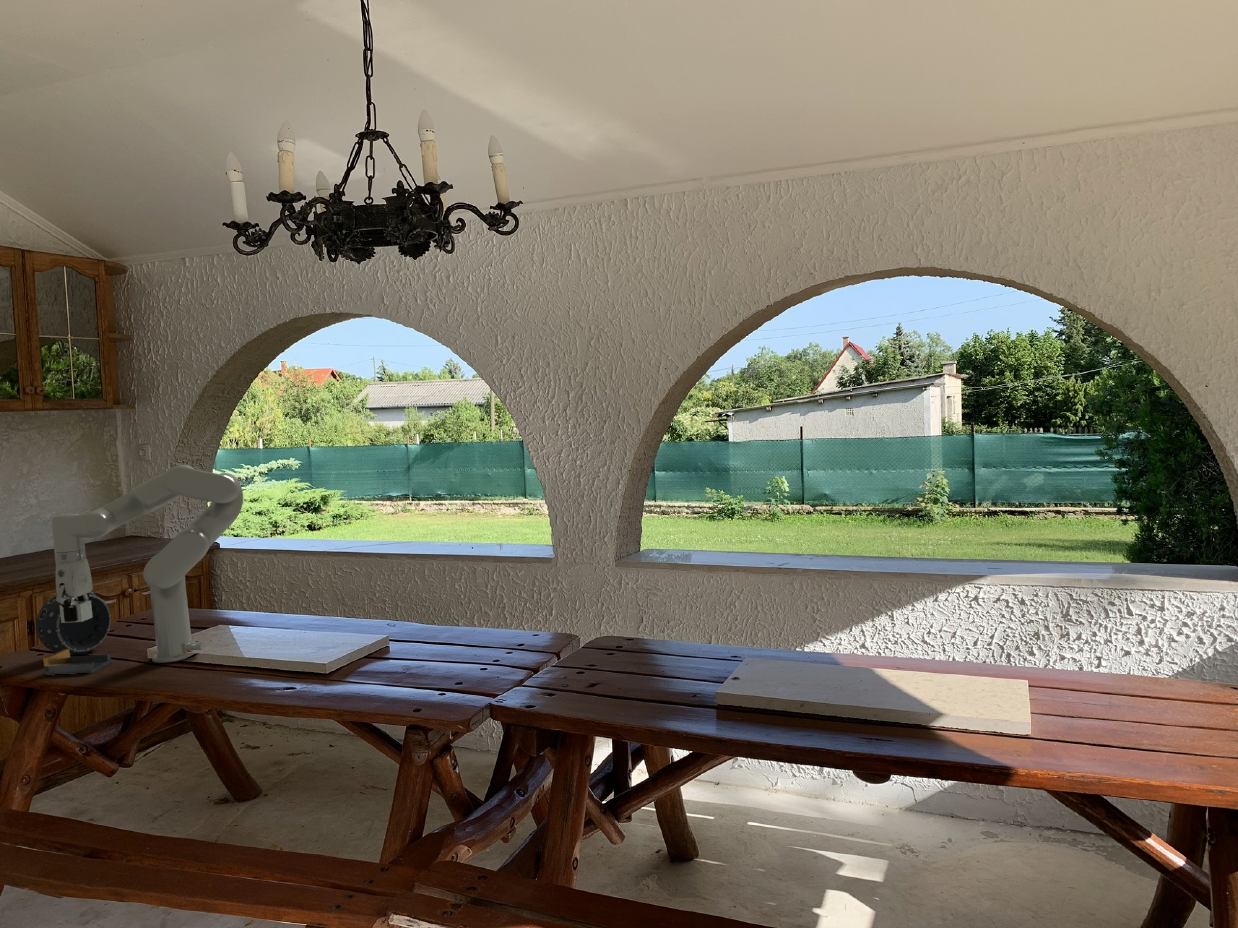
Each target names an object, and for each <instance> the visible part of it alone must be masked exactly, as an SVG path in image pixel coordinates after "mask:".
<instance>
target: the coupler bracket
mask: <svg viewBox="0 0 1238 928" xmlns="http://www.w3.org/2000/svg"><path fill="white" fill-rule="evenodd" d="M111 657H112V656H111V654H94V655H92V654H91V655H73V656H71V655H70V652H69V649H64V650H61V651H59V652H57V653H56V652H53V653H52V654H50V655H48V656H45V657H43V658H42V661H43V667H44V674H47V675H48V674H65V673H66V674H69V673H74V674H73V675H77V674H76V673H88V674H93V673H95V672H97V671H99V670H101V669H103V668H106V667H107V665H108V666H109V665H111V664H112V658H111Z"/></svg>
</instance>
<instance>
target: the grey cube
mask: <svg viewBox="0 0 1238 928" xmlns="http://www.w3.org/2000/svg"><path fill="white" fill-rule="evenodd" d="M73 607H75V609H76V619H77V620H76V621H75V622H83V621H85V620H88V619H90V618H92V607H91V601H74V606H73ZM60 615H61V623H67V622H65V621H64V612H63V609H62V606H61V605H60Z"/></svg>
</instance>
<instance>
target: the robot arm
mask: <svg viewBox="0 0 1238 928" xmlns="http://www.w3.org/2000/svg"><path fill="white" fill-rule="evenodd" d="M181 497H185V498H189V499H190V498H191V499H195V500H198V501H199V500H200V501H206V502H209V503H210V504H209V505H208V507H206V508H205V510H204V511H202V512H201V513H200V515H198V516H197V518H195V519H194V520H193V521H192V522H191V523H189V525H187V526H186V527H185V528H184V529H182V530H181V531H179V532H178V534H177V535H175V537H174V538H173V539H171V541H169V542H168V543H167V545H165V546H164V547H163V548H162V549H161V550H160V551H159V552H158V553H156V554H155V555H153V556H152V557H151V559H150V560H148V562H147V563H146V565H145V566H144V569H143V572H142V573H143V574H142V575H143V580H144V582H145V583H146V585H147V586H148V587H149V592H150V593H149V594H150V603H151V604H150V605H151V611H152V619H153V620H152V621H153V626H154V636H155V644H156V653H155V654H154V655H152V656H151V660H152V662H153V663H157V664H158V663H161V664H162V663H174V662H178V661H179V662H180V661H183V660H186V656H184V655H183V656H182V653H183V654H186V653H187V652H192V651H193V650H199V651H203V650H204V647H205V643H204V642H196V638H194V637H193V638H192V632H191V623H190V613H189V606H188V597H187V596H188V595H187V588H186V587H187V585H186V584H187V583H186V574H187V573H188V572H190V570H192V569H193V568H194V567H195V566H196V565H197V564H198V563H199V562H200V561H201V560H202V559H203V558H204V557H205V556H206V555H207V553H208V551H209V549H210V547H211V546H212V545H213V544H214V543H215V542H216V541H217V540H218V539H219V538H220V537H221V536H222V535H223V533H224V532H226V530H228V529H229V528H230V526H231V525H232V524H233V523H234V522H235V521H236V520H237V518H238V517H239V515H240V514H241V511H242V507H243V504H244V492H243V488H242V486H241V482H240V481H239V479H238V478H237V477H236V476H235V475H234V474H232V473H229V472H228V473H227V472H221V473H216V472H210V471H205V470H200V469H195V468H194V467H192V466H191V465H189V464H178V465H176V466H173V467H172V468H170V469H168V470H166V471H164V472H162V473H160V474H159V475H157V476H155V477H153V478H151V479H148V480H146V481H145V482H143V483H140V484H139V485H136V486H135V487H133V488H132V489H131V490H129V491H128V492H127V493H125V494H123V495H122V496H120V497H118V498H116V499H115V500H112V501H111V502H110V501H109V502H108V503H107V504H105V505H102V506H101V507H99V508H96V509H95V510H92V511H90V512H87V513H82V514H79V513H75V512H73V513H72V512H71V513H61V514H56V515H54V516H53V517H52V518H51V529H52V530H51V531H52V540H53V547H54V548H53V549H54V559H55V560H54V561H55V590H56V595H57V597H56V601H57V602H59V603H60V605H61V606H62V609H63V612H64V621H65V622H75V621H76V620H77V619H76V609H75V607H73V606H74V597H76V600H77V601H89V599H88V597H89V593H90V592H93V589H94V587H93V579H92V573H91V569H90V563H89V560H88V558H87V555H86V545H85V538H87V539H89V538H90V539H97V538H101V537H104V536H106V535H107V534H109V533H110V532H112V531H114V530H115V529H117V528H119V527H121V526H123V525H125V524H127V523H128V522H130V521H132V520H134V519H136V518H138V517H142V516H144V515H148V514H151V513H153V512H154V511H156V510H158V509H160V508H162V507H163V506H166V505H167V504H170V503H171V502H173V501H175V500H177V499H178V498H181ZM224 534H225V533H224ZM67 596H70V597H67ZM67 599H70V602H68V601H67Z"/></svg>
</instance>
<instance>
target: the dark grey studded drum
mask: <svg viewBox="0 0 1238 928" xmlns="http://www.w3.org/2000/svg"><path fill="white" fill-rule="evenodd" d="M56 597H57V594H56V595H53V597H51V598H49V599H48V600H47V601H45V603H44V604H43V605H42V606H41V608H40V609H39V612H38V614H37V617H36V619H35V620H36V621H35V630H36V636H37V638H38V640H39V641H40V643H41V644H42V646H44V647H45V648H46V649H47V650H49V651H51V652H53V653H57V652H59V651H61V650H64V649H69V652H70V656H79V655H86V654H87V653H88V652H90V651H92V650H94V649H95V648H96V647H99V646H100V645H101V644H102V642H103V641H104V639H105V638H106V637H107V635H108V633H109V632H110V631H111V630H110V627H111V620H112V619H111V617H112V614H111V612H110V609H109V607H108V605H107V602H106V601H105V600H104V599H102V598H101V597H100V596H98V595H96V594H95V592H93V591H91V592H90V593H89V597H88V599H89V601H91V607H92V618H90V619H88V620H85V621H83V622H67V623H61V615H60V603H59V602H57V601H56ZM67 597H70V596H67ZM67 601H68V602H70V599H67ZM74 601H77V600H76V597H74Z"/></svg>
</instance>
